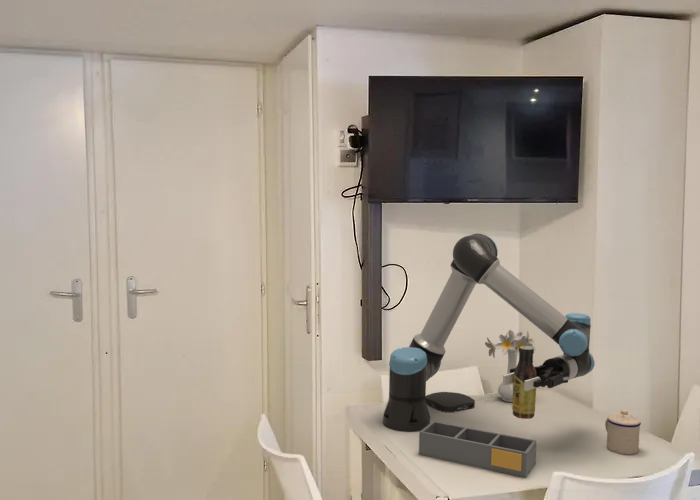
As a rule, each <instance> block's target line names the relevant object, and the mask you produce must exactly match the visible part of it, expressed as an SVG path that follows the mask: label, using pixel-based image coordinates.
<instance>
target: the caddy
mask: <svg viewBox="0 0 700 500" xmlns="http://www.w3.org/2000/svg"><path fill="white" fill-rule="evenodd" d="M418 434H419V435H418V438H419V441H418V455H420V456H425V457H429V458H433V459H440V460H442V461H443V460H444V461H448V462H452V463H457V464H462V465H468V466H471V467H476V468H479V469H485V470H490V471H494V472H499V473H503V474H508V475H512V476H517V477H522V478H528V476H529V474H530V472H531V471H532V470H533V469H534V467H535V465H536V463H537V446H538V445H537V443H538V442H537V440H536V439H535V440H534V439H530V438H525V437H521V436H520V437H518V436H514V435H509V434H503V433H497V432H493V431H488V430H487V431H486V430H482V429H477V428H473V427H467V426H463V425H462V426H461V425H457V424H456V425H455V424H449V423H445V422H440V421H435V420H433V421H430V424H429V425H428V426H426V427H425V428H424V429H422V430H419V433H418Z"/></svg>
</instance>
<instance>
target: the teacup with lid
mask: <svg viewBox="0 0 700 500" xmlns="http://www.w3.org/2000/svg"><path fill="white" fill-rule="evenodd" d="M604 423H605V424H604V425H605V431H606V433H607V434H606V436H607V437H606V448H607V449H608V450H609V451H611V452H613V453H616V454H621V455H634V454H637V453H638V452H639V444H640V428H641V424H642V423H641V420H640V419H639V418H637V416H633V414H630V413H629V411H628V410H627V409H620V412H617V413H612V414H609V415H608V416H607V418H606V420H605V422H604Z"/></svg>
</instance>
